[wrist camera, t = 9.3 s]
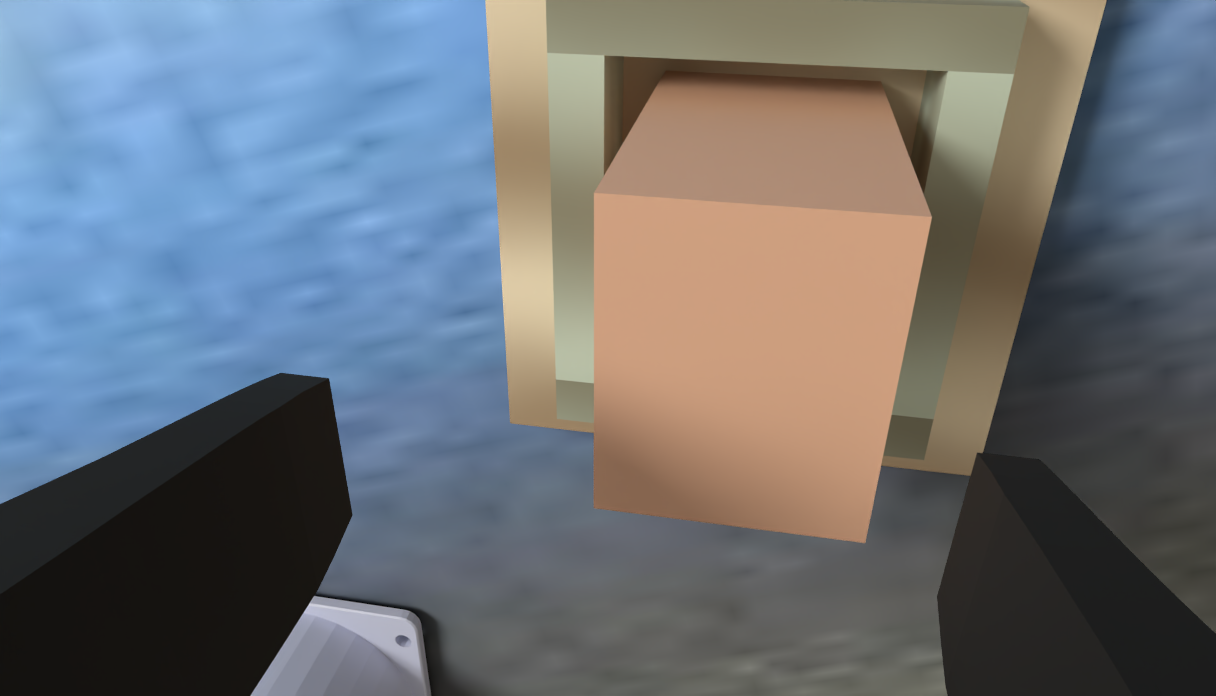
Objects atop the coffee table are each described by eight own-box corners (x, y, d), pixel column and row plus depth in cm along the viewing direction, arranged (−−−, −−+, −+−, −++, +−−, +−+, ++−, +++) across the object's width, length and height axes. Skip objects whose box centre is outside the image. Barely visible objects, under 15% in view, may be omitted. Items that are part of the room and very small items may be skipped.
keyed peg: (842, 320, 19) (864, 543, 13) (656, 303, 19) (594, 508, 13) (880, 81, 16) (931, 217, 10) (665, 70, 17) (594, 192, 11)
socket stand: (968, 450, 21) (993, 535, 18) (520, 401, 22) (485, 472, 20) (1119, -124, 15) (1188, -118, 12) (494, -131, 16) (439, -128, 14)
